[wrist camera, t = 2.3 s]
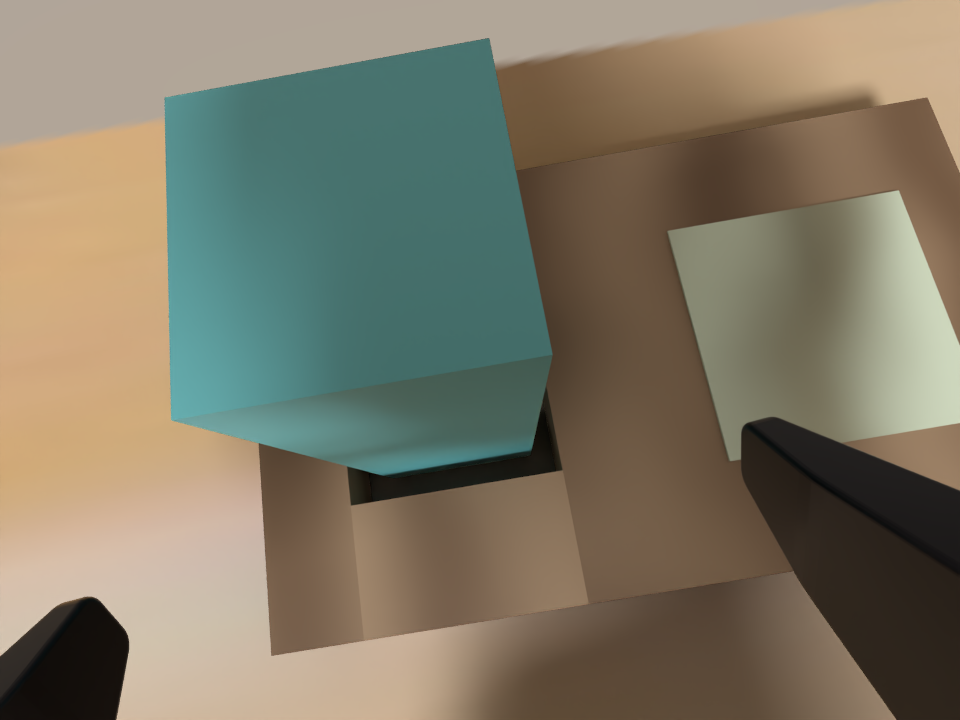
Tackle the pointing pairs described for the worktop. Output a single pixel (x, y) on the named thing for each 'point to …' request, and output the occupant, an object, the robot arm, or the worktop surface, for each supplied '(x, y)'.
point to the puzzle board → (664, 379)
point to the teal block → (355, 265)
